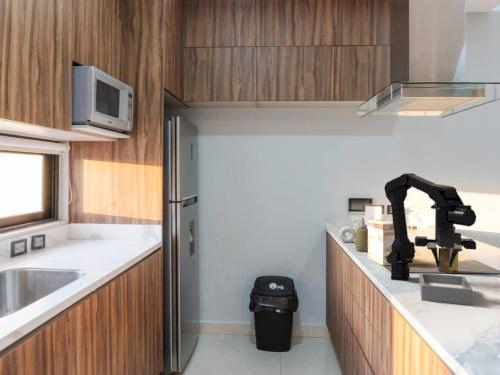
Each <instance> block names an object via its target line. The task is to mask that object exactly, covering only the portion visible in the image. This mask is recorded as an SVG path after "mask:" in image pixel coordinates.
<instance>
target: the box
mask: <svg viewBox="0 0 500 375" xmlns="http://www.w3.org/2000/svg"><path fill="white" fill-rule="evenodd" d="M418 276H419V277H418V279H419V284H418V285H419V286H418V287H419V290H420V291H419V292H420V293H419V294H420V298H421V301H427V302H436V303H447V304H455V305H456V304H457V305H463V306H464V305H466V306H474V305H473V304H474V301H473V299H474V294H473V292H474V290H473V288H472V286H471V285H470V283H469V282H468V279H467V278H466V276H464V275H463V276H462V275H450V274H437V273H436V274H435V273H423V272H419V275H418Z"/></svg>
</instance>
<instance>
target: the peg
mask: <svg viewBox="0 0 500 375" xmlns="http://www.w3.org/2000/svg"><path fill="white" fill-rule="evenodd" d="M437 254H438V261H439V267H437V268H438V270H437V272H439V273H441V274H442V273H443V274H450V273H449V272H450V249H448V248H442V247H438V253H437Z"/></svg>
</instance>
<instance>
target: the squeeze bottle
mask: <svg viewBox="0 0 500 375" xmlns="http://www.w3.org/2000/svg"><path fill="white" fill-rule="evenodd" d="M355 232H356V237H355V239H354V245H355V248H356V251H358V252H360V253H361V252H362V253H363V252H365V253H366V252H368V224H365V218H364V217H361V219H360V222H359V223H358V224H357V228H356V229H355Z"/></svg>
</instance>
